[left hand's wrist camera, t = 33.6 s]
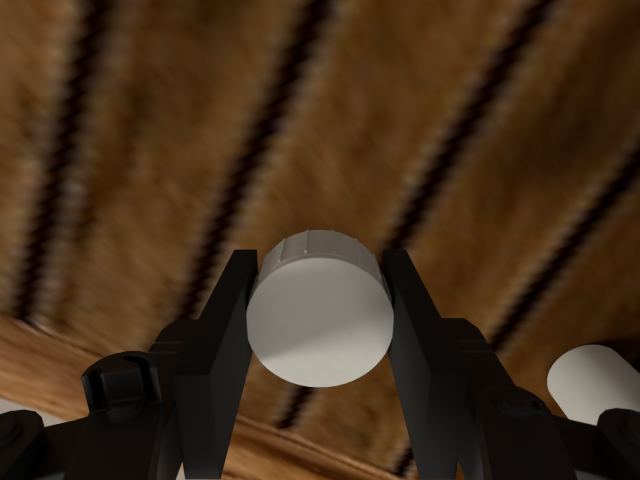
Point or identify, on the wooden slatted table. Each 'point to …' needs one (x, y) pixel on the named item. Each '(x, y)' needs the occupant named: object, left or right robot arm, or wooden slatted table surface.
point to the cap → (320, 310)
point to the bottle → (593, 383)
